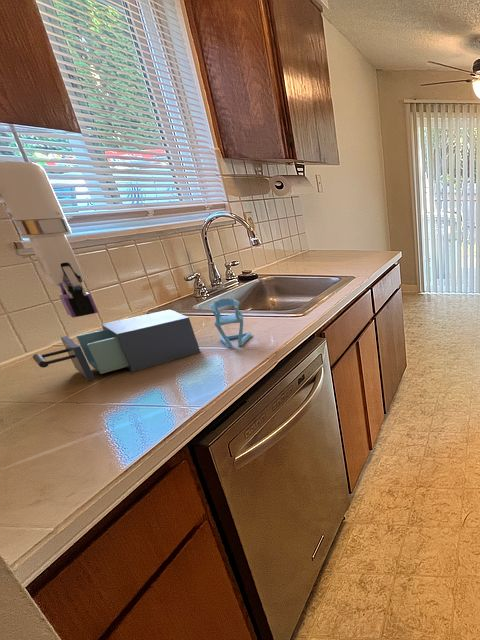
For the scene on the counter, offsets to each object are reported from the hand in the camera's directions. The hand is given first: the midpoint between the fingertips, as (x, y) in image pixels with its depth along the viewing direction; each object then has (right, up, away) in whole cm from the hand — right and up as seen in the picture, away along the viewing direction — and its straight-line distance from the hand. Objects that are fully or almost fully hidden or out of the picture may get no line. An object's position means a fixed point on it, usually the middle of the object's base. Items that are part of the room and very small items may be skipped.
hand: (82, 312), depth 90 cm
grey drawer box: (+6, -10, +14) cm, 18 cm away
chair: (+21, -6, +22) cm, 31 cm away
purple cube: (0, 0, 0) cm, 0 cm away
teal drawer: (0, -13, +5) cm, 14 cm away
